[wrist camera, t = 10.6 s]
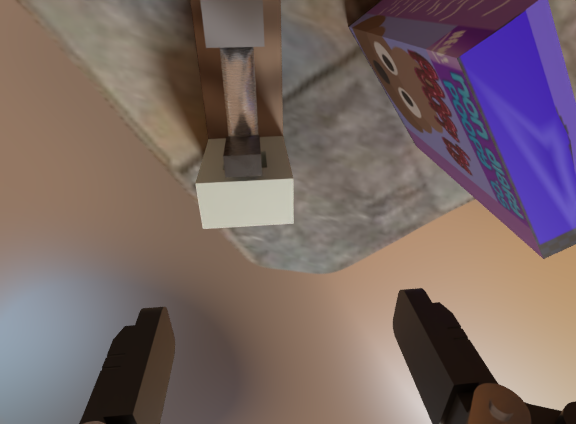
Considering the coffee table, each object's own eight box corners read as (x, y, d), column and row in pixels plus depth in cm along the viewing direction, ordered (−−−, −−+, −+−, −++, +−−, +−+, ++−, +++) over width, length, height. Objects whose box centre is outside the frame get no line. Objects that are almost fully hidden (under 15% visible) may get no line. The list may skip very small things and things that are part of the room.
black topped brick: (216, 17, 31) (207, 22, 25) (252, 16, 32) (253, 21, 25) (233, 179, 40) (229, 216, 33) (261, 178, 40) (264, 214, 33)
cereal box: (348, 26, 39) (458, 58, 18) (386, -4, 38) (549, -6, 17) (416, 145, 47) (545, 260, 26) (449, 123, 46) (611, 226, 25)
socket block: (208, 139, 43) (195, 183, 32) (283, 135, 43) (293, 178, 33) (213, 176, 45) (202, 228, 35) (283, 173, 46) (293, 223, 36)
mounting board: (181, -78, 33) (156, -105, 24) (278, -77, 34) (288, -104, 25) (215, 183, 47) (207, 227, 38) (283, 180, 48) (291, 222, 39)
